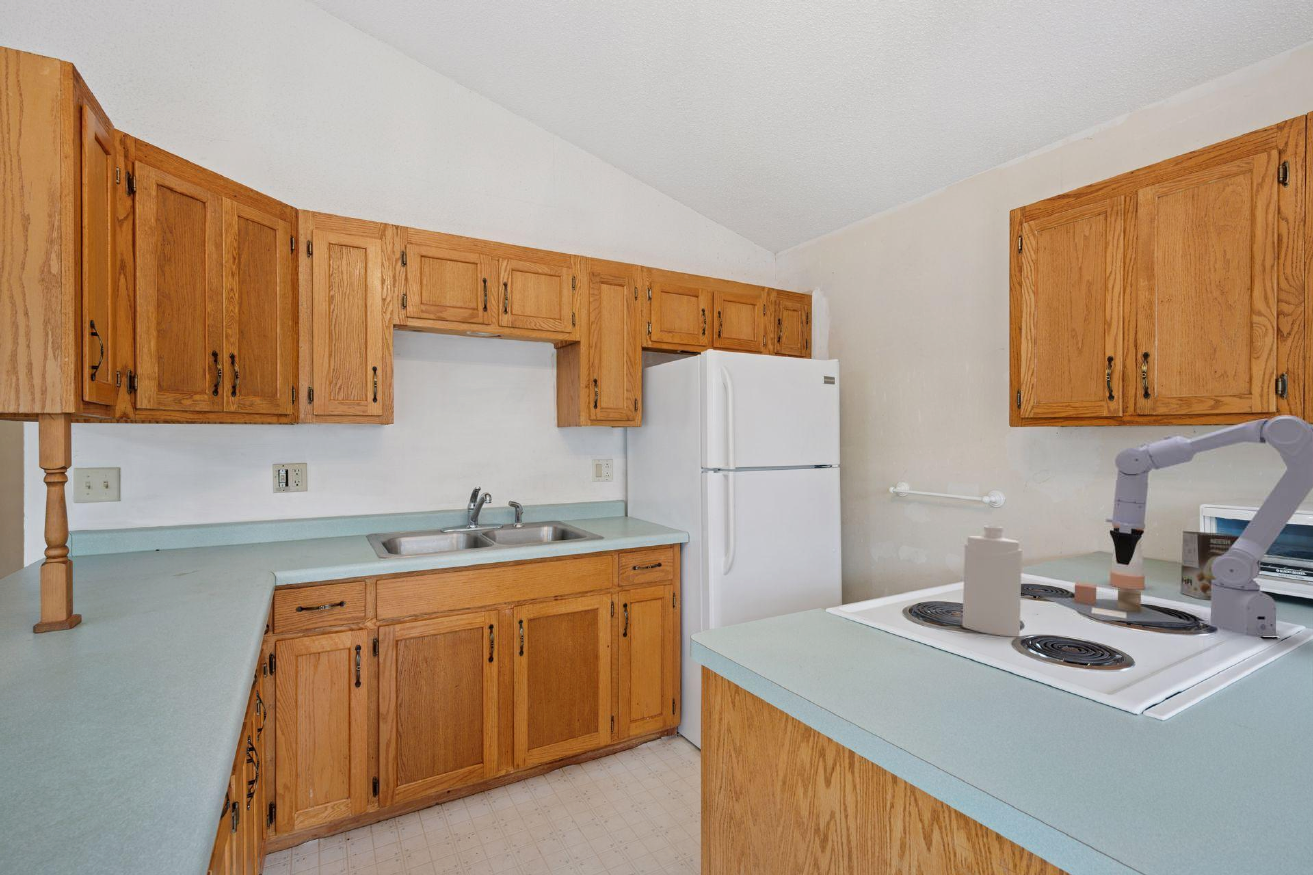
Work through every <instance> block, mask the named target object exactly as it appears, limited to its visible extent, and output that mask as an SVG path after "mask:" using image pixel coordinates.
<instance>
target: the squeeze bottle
mask: <svg viewBox="0 0 1313 875" xmlns="http://www.w3.org/2000/svg"><path fill="white" fill-rule="evenodd" d="M983 532H984V534H983V535H969V536H967V541H966V542H967V543H965V544H964V560H963V561H964V563H963V567H964V568H963V593H962V594H963V600H962V625H961V626H962V627H963V628H965V629H968V630H971V631H974V632H977V633H978V632H979V633H983V634H988V635H993V636H994V635H995V636H1002V637H1010V638H1017V637H1019V636H1020V632H1021V627H1020V626H1021V598H1022V596H1021V595H1022V594H1021V593H1022V592H1021V590H1022V560H1023V558H1022V553H1023V550H1022V549H1021V548H1020V542H1019V541H1018V540H1014V539H1010V538H1006V537H1003V535H1002V534H1003V533H1004V527H1001V526H997V525H996V526H995V525H983Z"/></svg>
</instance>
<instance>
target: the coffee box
mask: <svg viewBox="0 0 1313 875" xmlns="http://www.w3.org/2000/svg"><path fill="white" fill-rule="evenodd" d="M1239 537H1240V535H1233V534H1227V533H1221V532H1220V533H1219V532H1206V531H1205V532H1204V531H1203V532H1202V531H1187V530H1184V531H1182V543H1181V544H1182V545H1181V546H1182V547H1181V548H1182V550H1181V552H1182V553H1181V571H1180V572H1181V573H1180V574H1181V575H1180V576H1181V577H1180V594H1182V595H1186V596H1188V597H1192V598H1195V599H1197V600H1198V599H1199V600H1210V601H1211V583H1212V580H1216V578H1215V577H1214V576H1213V574H1212V572H1211V565H1212V562H1213V561H1214V560H1215V559H1216V558H1217V557H1219V556H1221V555H1224V554H1225V553H1227V552H1228V550H1229V549H1230V548H1231V546H1232V545H1233V544H1234V543H1235V542H1236V541H1237V539H1238V538H1239Z"/></svg>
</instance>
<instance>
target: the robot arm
mask: <svg viewBox="0 0 1313 875" xmlns="http://www.w3.org/2000/svg"><path fill="white" fill-rule="evenodd" d="M1163 438H1164V439H1163V440H1158V441H1155V442H1152V443H1148V444H1146V443H1140V444H1138V447H1139V449H1138V448H1134V447H1128V448H1125V449H1124V450H1122V451H1120V452H1119V453H1118V454H1117V455H1116V457H1115V461H1114V462H1115V467H1116V468H1117V474H1116V475H1117V478H1116V482H1115V491H1114V502H1113V510H1112V511H1113V512H1112V518H1105V522H1106V523H1111V524H1112V523H1113V524H1115V525H1118V526H1120V528H1114V527H1113V528H1112V529H1110V530H1109V534H1110V536H1111V540H1112V542H1113V546H1114V548H1115V555H1116V561H1117V563H1118V564H1124V565H1129V563H1130V561H1131V559H1132V557H1133V554H1134V551H1135V548H1136V545H1137V542H1138V541H1139V539H1140V538H1141V539H1142V535H1144V533H1145V531H1144V530H1145V529H1144V530H1139V529H1134V528H1143V527H1145V528H1146V523H1145V519H1146V510H1147V508H1146V507H1147V500H1148V498H1147V497H1148V488H1149V483H1148V481H1149V472H1151V471H1152V469H1153V470H1156V471H1157V470H1159V469H1160V470H1161V469H1164V468H1168V467H1172V466H1175V465H1180V464H1183V463H1188V462H1191V461H1192V460H1193V458H1194V457H1195V455H1196V454H1197V453H1202V452H1206V451H1211V450H1214V449H1219V448H1220V449H1221V448H1224V447H1227V446H1228V447H1229V446H1231V445H1236V444H1241V443H1245V442H1246V443H1255V444H1265V445H1266V444H1267V443H1268V444H1269V445H1270V446H1271V447H1272V448H1274V450H1276V451H1277V452H1278V453H1279V455H1280V458H1282V460H1283V463H1284V464H1285V466H1286V471H1285V472H1284V474H1283V475H1282V476H1281V478H1280V479H1279V481H1278V482H1277V483H1276V484H1275V486H1274V487H1273V489H1272V490H1271V491H1270V493H1269V494H1268V496H1267V497H1266V499H1265V500H1264V501H1263V503H1262V504H1261V505H1260V507H1259V509H1257V511H1256V513H1255V515H1254V516H1253V517H1252V519H1251V520H1250V522H1249V523H1248V524H1247V526H1246V527H1245V529H1244V530H1243V531H1242V532H1241V534H1240V535H1239V538H1238V539H1237V541H1236V542H1235V543H1234V544H1233V545H1232V546H1231V548H1230V549H1229V550H1228V552H1227V553H1225V554H1224V555H1221V556H1219V557H1217V558H1216V559H1215V560H1214V561H1213V562H1212V565H1211V572H1212V574H1213V576H1214V577H1215V578H1216V580H1212V583H1211V600H1210V621H1206V620H1205V621H1203V620H1198V622H1199V623H1201V624H1205V625H1208V626H1211V627H1214V628H1218V629H1220V630H1223V631H1227V632H1230V633H1232V634H1235V635H1239V636H1254V637H1255V636H1256V637H1257V636H1258V637H1260V636H1280V635H1278V634H1277V604H1276V602H1275V599H1274V598H1273V597H1272V596H1270V595H1268V594H1267V593H1264V592H1263V591H1262V590H1260V589H1261V585H1259V584H1258V583H1257V581H1256V580H1255V578H1258V576H1259V574H1260V571H1261V561H1262V559H1263V558H1265V556H1266V554H1267V552H1268V550H1269V548H1270V547H1271V546H1272V545H1273V543H1274V542H1275V540H1276V539H1277V538H1278V537H1279V534H1280V533H1281V532H1282V531H1283V529H1285V527H1286V525H1287V524H1288V523H1289V521H1290V520H1291V518H1292V517H1293V515H1294V514H1295V512H1296V511H1297V510H1298V509H1299V508H1300V506H1301V504H1302V503H1303V502H1304V501H1305V500H1306V498H1307V496H1308V495H1309V494H1310V492H1311V491H1312V489H1313V427H1312V425H1311V424H1310V423H1309V422H1308V421H1306V420H1304V419H1301V418H1300V417H1299V416H1295V415H1289V414H1288V415H1285V414H1283V415H1277V416H1275V417H1273V418H1271V419H1269V418H1263V419H1256V420H1253V421H1252V420H1251V421H1248V422H1243V423H1239V424H1235V425H1233V426H1229V427H1226V428H1223V429H1218V430H1217V431H1213V432H1209V433H1206V434H1202V435H1199V436H1196V437H1192V438H1186V437H1184V436H1181V435H1177V436H1173V435H1171V434H1169V435H1166V436H1164V437H1163Z"/></svg>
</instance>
